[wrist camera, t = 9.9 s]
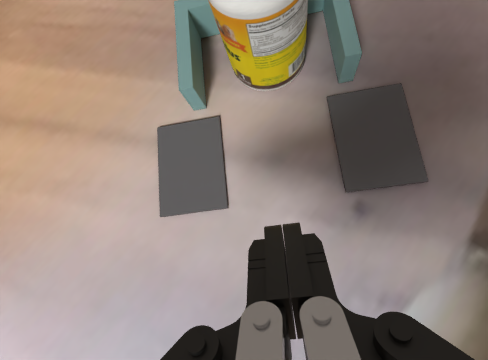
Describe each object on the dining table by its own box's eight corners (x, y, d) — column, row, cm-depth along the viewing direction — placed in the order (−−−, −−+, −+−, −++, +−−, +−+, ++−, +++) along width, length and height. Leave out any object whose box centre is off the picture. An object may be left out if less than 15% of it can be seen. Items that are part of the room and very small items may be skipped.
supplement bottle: (228, 43, 23) (178, -108, 13) (295, 23, 22) (295, -151, 13) (239, 103, 22) (193, -17, 12) (312, 84, 21) (327, -59, 11)
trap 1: (345, 192, 19) (346, 191, 19) (326, 98, 20) (327, 96, 20) (426, 181, 18) (428, 180, 18) (400, 84, 20) (401, 83, 20)
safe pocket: (194, 110, 22) (178, 89, 19) (188, 30, 24) (174, 1, 21) (352, 80, 20) (362, 53, 18) (333, -3, 22) (339, -40, 19)
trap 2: (161, 217, 21) (160, 216, 20) (158, 128, 22) (157, 127, 22) (228, 208, 20) (227, 207, 20) (219, 117, 22) (219, 116, 21)
